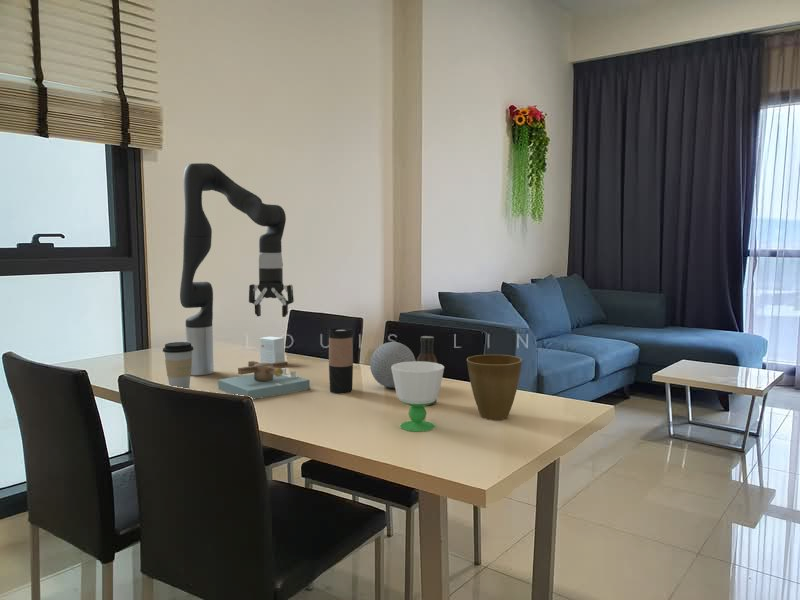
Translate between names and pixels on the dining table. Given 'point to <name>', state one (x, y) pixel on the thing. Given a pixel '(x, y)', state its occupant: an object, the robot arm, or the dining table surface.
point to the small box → (272, 350)
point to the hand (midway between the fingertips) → (271, 316)
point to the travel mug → (340, 360)
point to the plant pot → (494, 383)
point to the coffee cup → (178, 363)
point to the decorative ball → (388, 361)
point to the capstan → (263, 370)
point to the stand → (264, 385)
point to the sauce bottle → (427, 352)
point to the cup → (417, 390)
